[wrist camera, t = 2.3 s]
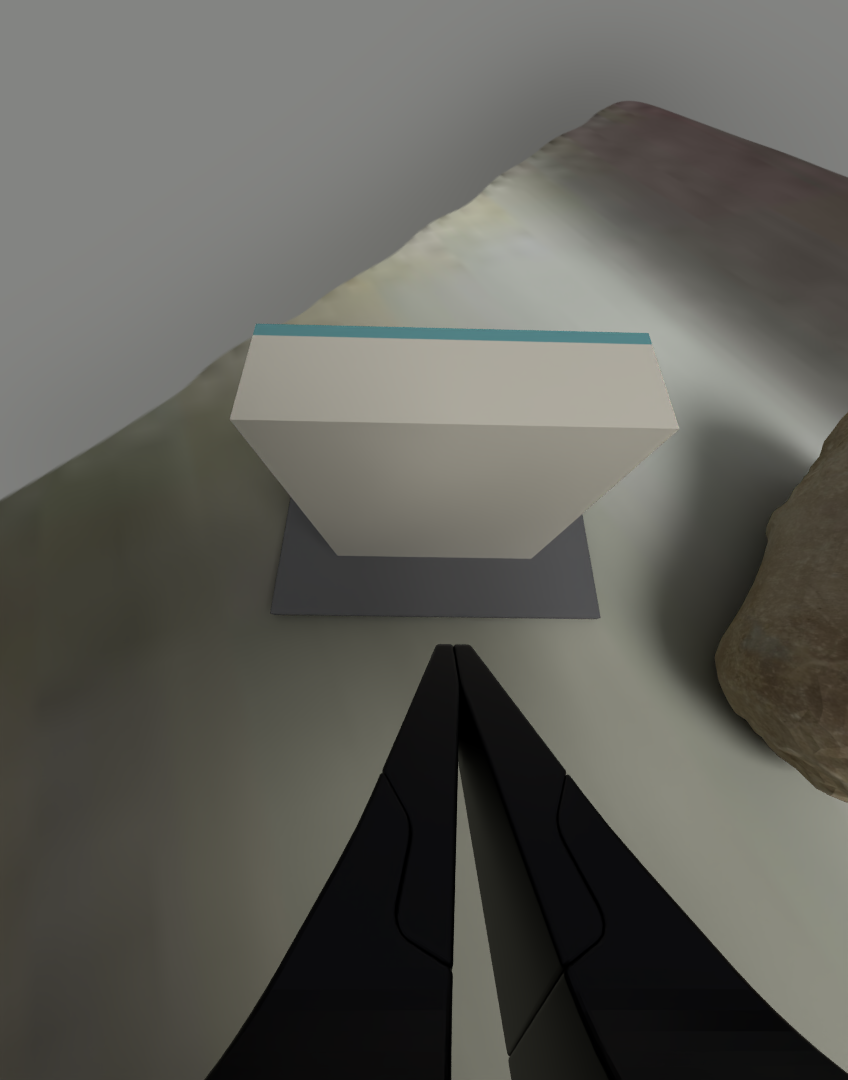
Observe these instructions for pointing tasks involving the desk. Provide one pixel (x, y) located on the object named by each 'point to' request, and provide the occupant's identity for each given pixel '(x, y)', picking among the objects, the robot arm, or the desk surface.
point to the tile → (449, 431)
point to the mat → (433, 580)
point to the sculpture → (799, 628)
